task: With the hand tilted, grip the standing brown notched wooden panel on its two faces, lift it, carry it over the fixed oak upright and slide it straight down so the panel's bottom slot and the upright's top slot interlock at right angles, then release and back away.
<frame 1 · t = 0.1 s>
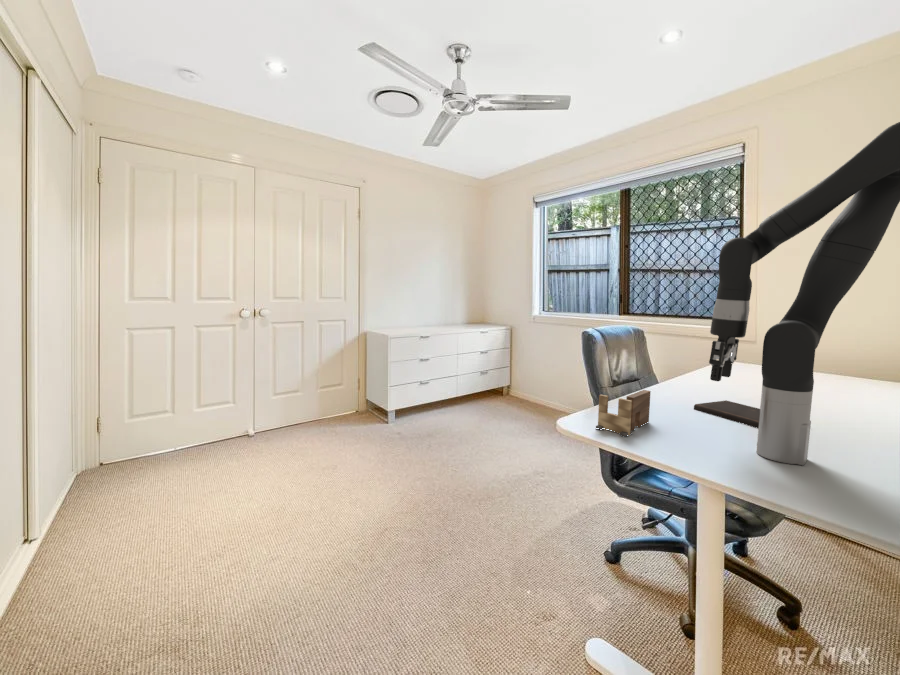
hand: (720, 378, 104), 17 cm above the table, tool pointing down, fingers open, 8 cm apart
hardcover book: (743, 418, 128), on the table
oak upright: (613, 431, 113), on the table
brown notched wooden panel: (637, 426, 118), on the table
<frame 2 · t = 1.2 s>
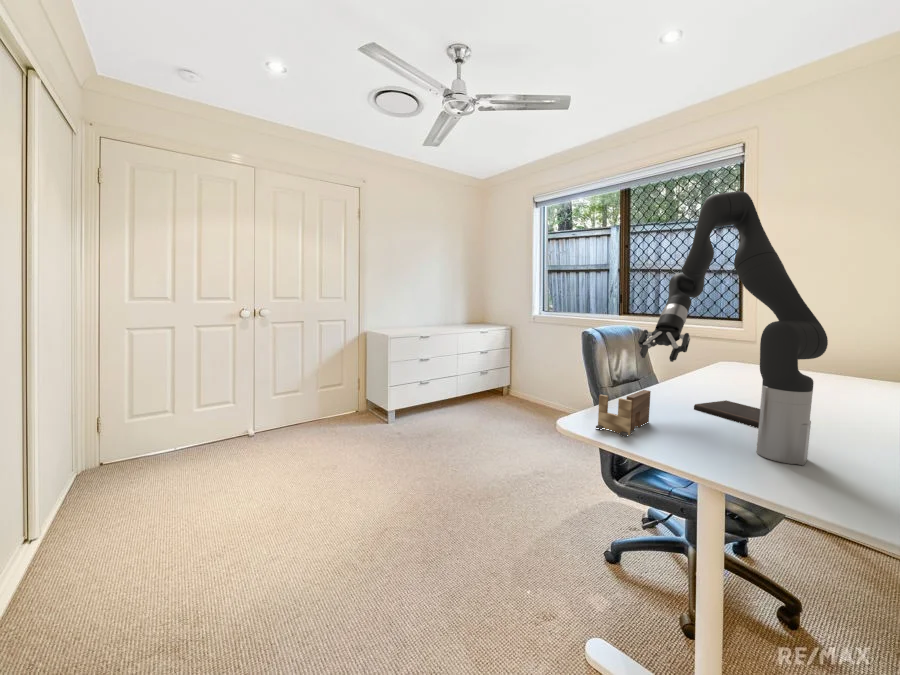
hand: (656, 358, 125), 19 cm above the table, tool tilted 45°, fingers open, 8 cm apart
nothing on the table moved.
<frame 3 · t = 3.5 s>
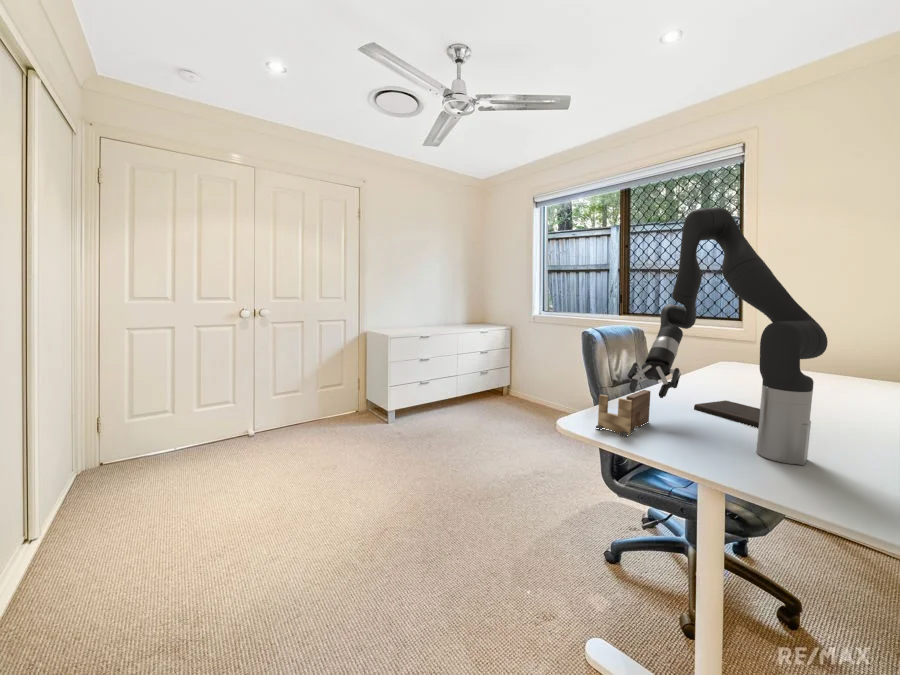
hand: (645, 393, 121), 9 cm above the table, tool tilted 45°, fingers open, 8 cm apart
nothing on the table moved.
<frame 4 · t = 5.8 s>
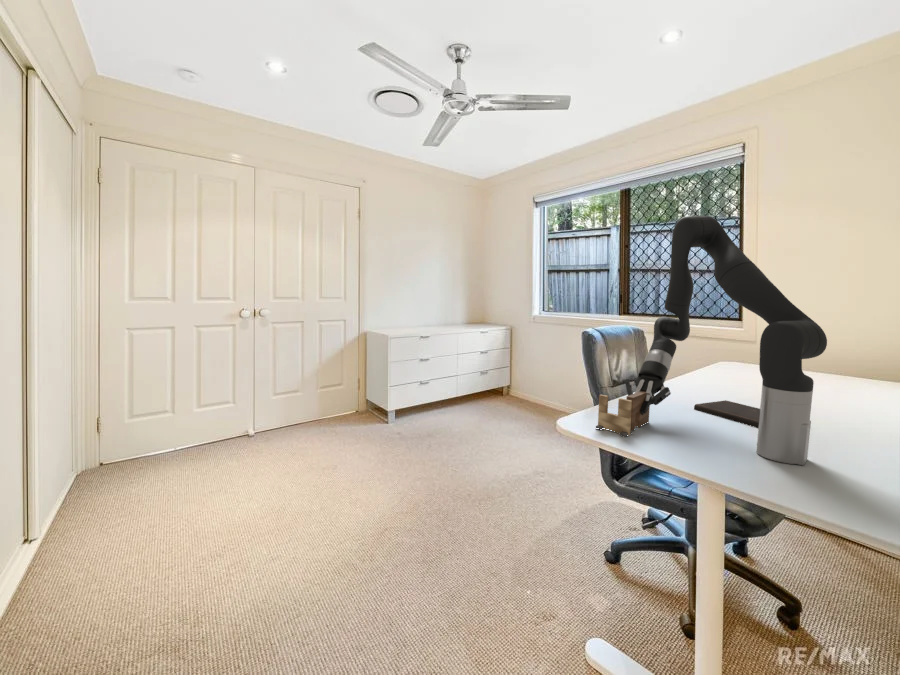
hand: (637, 412, 117), 4 cm above the table, tool tilted 45°, fingers closed on brown notched wooden panel, 2 cm apart
brown notched wooden panel: (637, 426, 118), on the table, touching gripper
everything else where it was.
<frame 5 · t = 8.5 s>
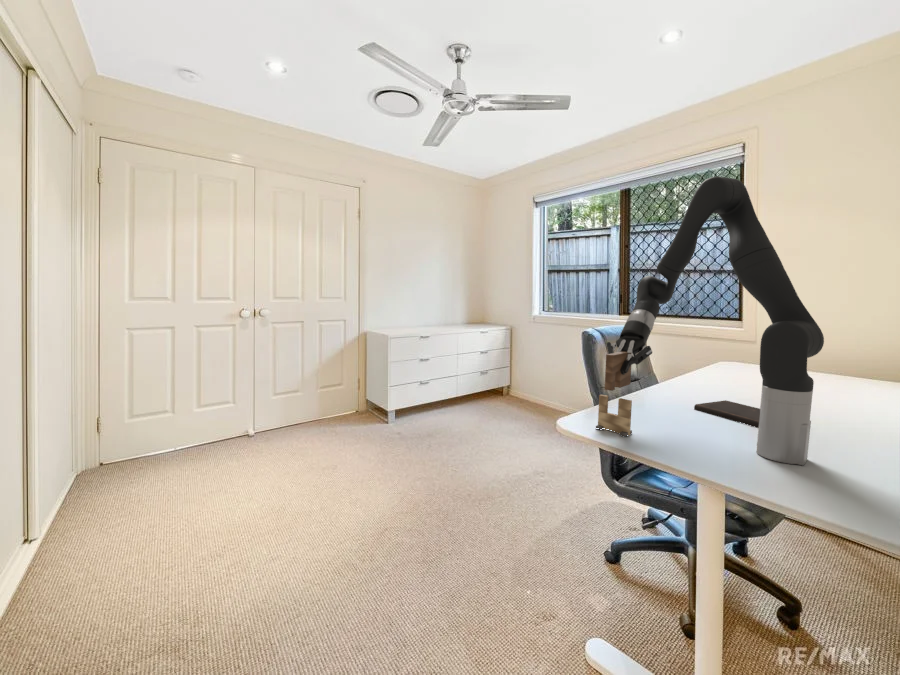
hand: (617, 372, 113), 17 cm above the table, tool tilted 45°, fingers closed on brown notched wooden panel
brown notched wooden panel: (617, 386, 114), point 13 cm above the table, touching gripper
everything else where it was.
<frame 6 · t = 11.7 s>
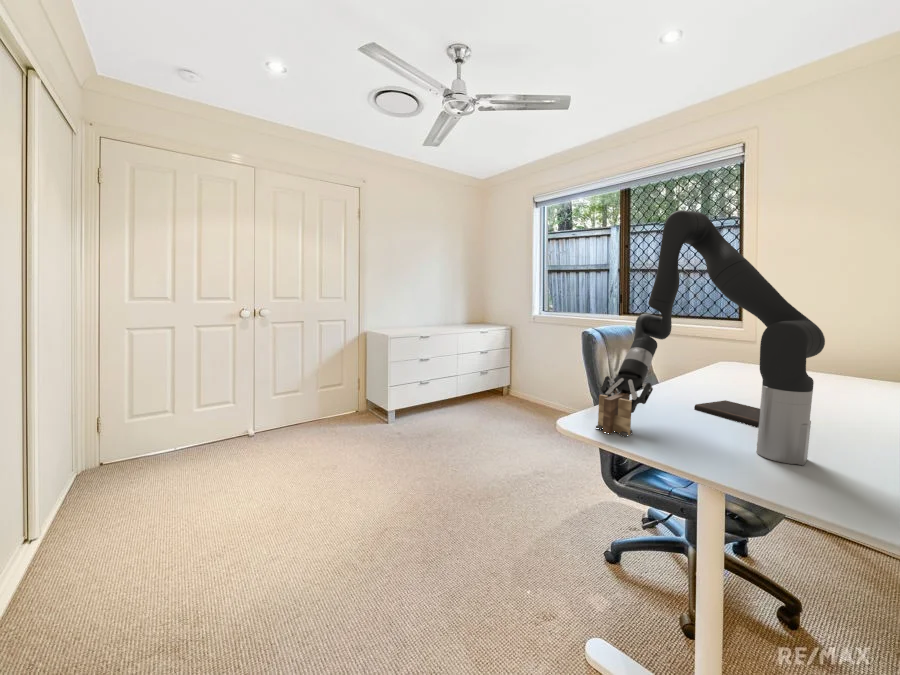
hand: (616, 409, 115), 6 cm above the table, tool tilted 45°, fingers open, 6 cm apart
brown notched wooden panel: (615, 429, 115), on the table, touching oak upright
everything else where it was.
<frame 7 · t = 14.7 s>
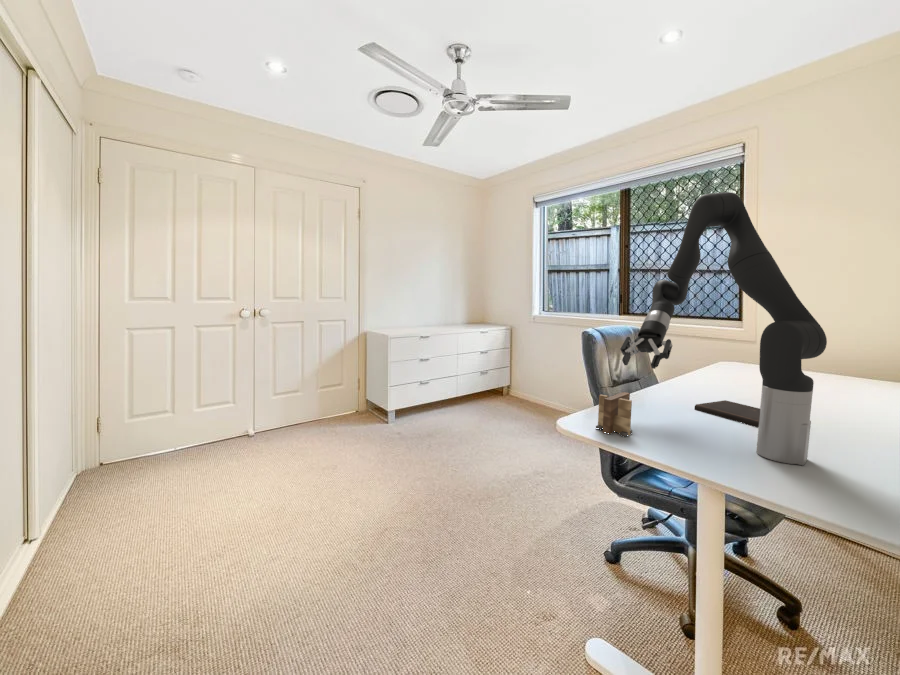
hand: (638, 365, 122), 18 cm above the table, tool tilted 45°, fingers open, 8 cm apart
nothing on the table moved.
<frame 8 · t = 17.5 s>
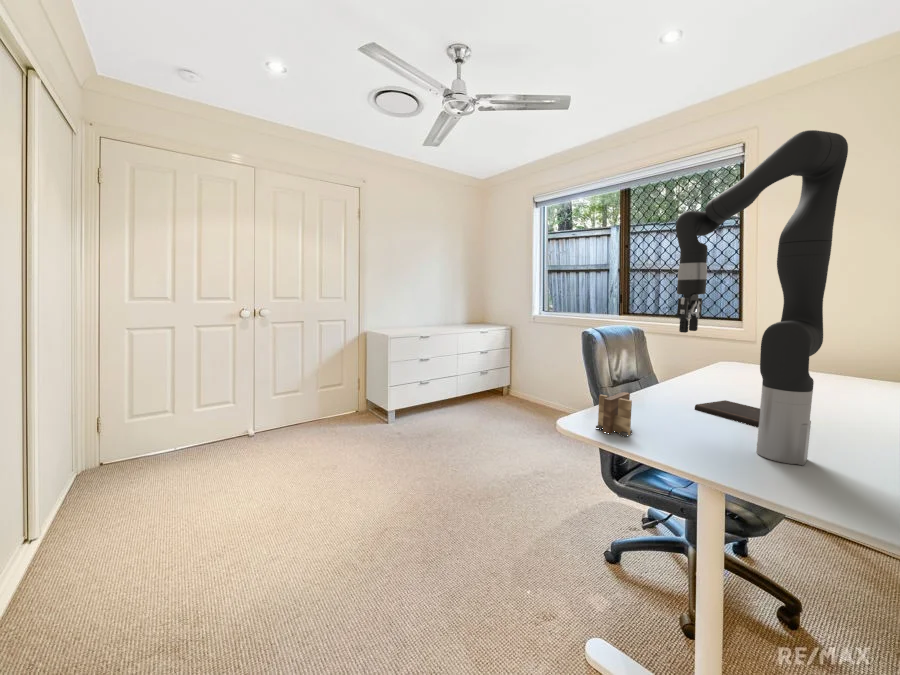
hand: (688, 331, 121), 28 cm above the table, tool pointing down, fingers open, 8 cm apart
nothing on the table moved.
at the end: brown notched wooden panel 0.0 cm from the target spot, on the table; brown notched wooden panel tilted 0°; the gripper is holding nothing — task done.
